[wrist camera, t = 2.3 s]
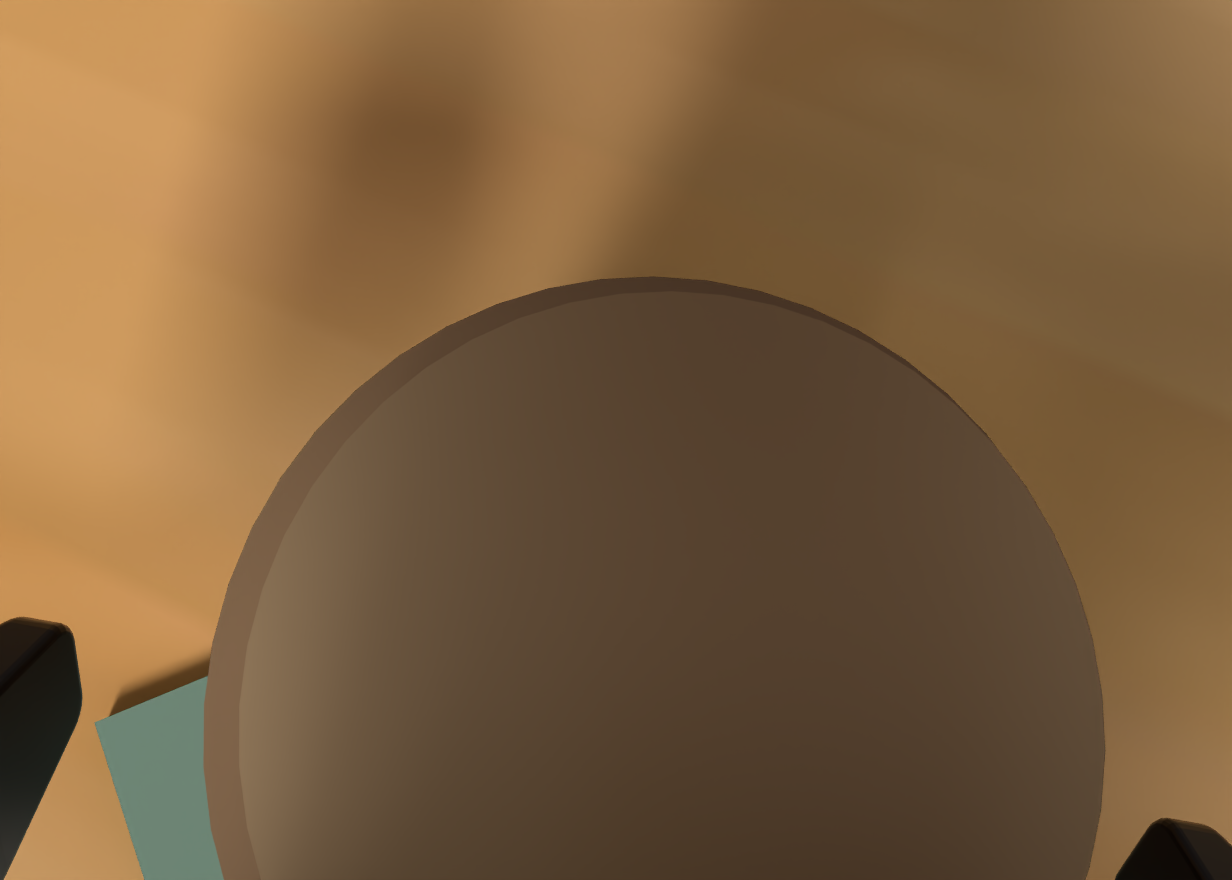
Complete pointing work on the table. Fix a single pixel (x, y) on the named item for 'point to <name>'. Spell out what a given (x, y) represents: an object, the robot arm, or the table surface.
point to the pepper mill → (652, 617)
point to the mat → (164, 783)
